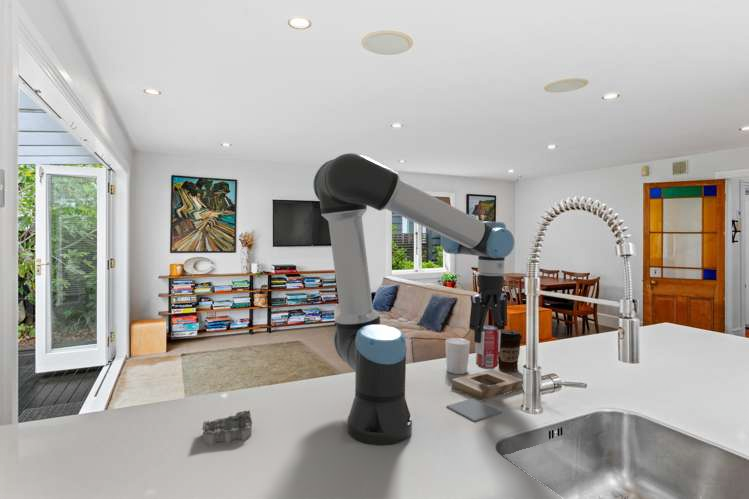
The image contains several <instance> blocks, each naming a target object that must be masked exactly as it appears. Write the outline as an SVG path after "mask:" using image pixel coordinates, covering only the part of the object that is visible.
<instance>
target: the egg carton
mask: <svg viewBox="0 0 749 499" xmlns="http://www.w3.org/2000/svg"><path fill="white" fill-rule="evenodd" d="M250 411H251V410H243V411H239V412H236V414H235V415H229V416H228V417H224V418H217V419H215V420H214V419H213V420H211V421H210V420H205V421H203V424H202V429H201V430H202V431H203V432H202V443H203V444H208V445H209V446H210V445H214V444H215V443H216V442H219V441H220V442H224V443H230V442H231V441H233V440H234V439H240V440H241V441H244V440H247V439H248V438H249V437H252V428H253V421H252V416H251V412H250ZM241 427H242V428H241ZM229 429H230V430H229Z"/></svg>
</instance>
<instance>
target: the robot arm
mask: <svg viewBox="0 0 749 499" xmlns="http://www.w3.org/2000/svg"><path fill="white" fill-rule="evenodd" d="M312 184H313V186H312V187H313V190H314V194H315V196H316V198H317V199H318V201H319V207H320V213H321V216H322V217H323V218H324V219H325V220H326V221H328V228H329V236H330V243H331V245H330V246H331V253H332V259H333V260H332V261H333V266H334V275H335V276H334V277H335V282H336V283H335V284H336V291H337V299H338V306H339V313H338V314H337V316H336V317H335V331H334V334H333V344H334V347H335V350H336V353H337V355H338V356H339V357H340V359H341V360H342V361H343V362H345V363H346V364H347V365H348V366H349V367H350V368H351V369H352V370H353V371H354V372H355V380H354V381H355V382H354V384H355V385H354V386H355V389H354V390H355V393H354V394H355V396H354V399H353V401H352V405H351V408H350V411H349V414H348V416H347V421H346V422H347V426H346V427H347V428H346V429H347V430H346V431H347V433H348V434H349V436H351V437H352V438H353V439H354V440H357V441H360V442H361V443H365V444H369V445H380V446H381V445H382V446H383V445H393V444H397V443H399V442H402V441H404V440H406V439H407V438H409V437H410V435H411V434H412V431H413V430H412V429H413V421H412V420H413V419H412V417H411V413H410V410H409V407H408V402H407V400H406V369H407V368H406V367H407V365H406V364H407V362H406V361H407V351H408V349H407V344H406V343H407V342H406V337H405V334H404V333H403V332H402V331H401V330H400V329H398V328H397V327H393V326H389V325H385V324H381V316H380V312H378V311H377V310H376V309H374V307H373V299H372V291H371V282H370V275H369V273H370V272H369V265H368V260H367V258H368V257H367V250H366V241H365V232H364V226H363V225H364V224H363V216H364V214H365V213H366V212H367V211H368V210H367V208H368V207H370V208H373V209H375V210H377V211H384V210H387V211H390V212H391V213H393V214H396V215H398V216H400V217H401V218H402V217H403V219H406V220H408V221H411V222H413V223H414V224H417V225H419V226H421V227H423V228H425V229H427V230H430V231H432V232H434V233H437V235H440V236H441V242H440V243H441V248H442V249H443V251H444V252H445V253H446V254H452V255H469V256H477V257H478V258H477V259H478V260H477V272H478V275H477V281H476V286H477V287H478V288H479V290H478V292H477V294H476V295H473V294H472V295H470V301H471V303H470V304H471V305H470V306H471V307H470V315H469V316H470V317H469V326H468V327H469V329H470V330H472V331H474V339H473V340H474V344H475V345H474V353H478V354H481V355H484V335H485V332H482V331H483V327H484V325H485V324H486V319H487V315H488V311H489V310H490V312H491V317H492V318H491V319H492V322H493V326H495V327H497V328H498V331H499V349H498V352H499V351H500V339H501V331H502V330H506V327H507V326H508V298H509V294H507V293H504V292H502V289H503V288H504V282H505V276H504V275H503V274H505V260H506V258H507V257H509V255H510V254H512V251H513V249H514V247H515V238H514V235H513V233H512V232H511V231H510V229H509V230H508V229H507V226H506V223H504V222H502V221H481V220H480V219H477V218H476V217H473V215H470V214H468V213H466V212H464V211H462V210H460V209H458V208H456V207H454V206H453V205H451V204H449V203H447V202H444V201H443V200H441V199H439V198H437V197H436V196H433V195H431V194H429V193H427V192H426V191H424V190H422V189H421V188H418V187H416V186H413V185H412V184H410V183H409V182H406V181H405V180H402V179H401V178H400V175H399V173H398V172H397V171H395V170H392V169H391V168H389V167H388V166H385V165H383V164H381V163H379V162H377V161H376V160H374V159H372V158H370V157H368V156H364V155H362V154H359V153H352V152H350V153H343V154H341V155H338V156H337V157H335V158H334V159H330V160H329V161H326V162H324V163H323V164H322V165H321V166H320V167H319V169H318V170H317V171H316V173H315V175H314V179H313V183H312Z"/></svg>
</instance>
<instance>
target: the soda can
mask: <svg viewBox="0 0 749 499" xmlns="http://www.w3.org/2000/svg"><path fill="white" fill-rule="evenodd" d="M482 332H485V335H484V355H481V354H478V353H476V354H475V355H476V357H475V364H476V365H477V367H478V368H480V369H483V370H491V369H495V370H496V368H497V367H499V364H498V349H499V331H498V328H497V327H495V326H494V325H489V324H488V325H487V324H484V327H483V331H482Z"/></svg>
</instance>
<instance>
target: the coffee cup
mask: <svg viewBox="0 0 749 499" xmlns="http://www.w3.org/2000/svg"><path fill="white" fill-rule="evenodd" d="M522 340H523V335H522V334H521V332H520V331H519V330H516V329H504V330H502V331H501V339H500V351H499V352H498V369H499V371H502V372H511V373H512V372H517V371H519V368H518V366H519V365H518V363H519V357H520V352H521V351H520V348H521V341H522Z"/></svg>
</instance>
